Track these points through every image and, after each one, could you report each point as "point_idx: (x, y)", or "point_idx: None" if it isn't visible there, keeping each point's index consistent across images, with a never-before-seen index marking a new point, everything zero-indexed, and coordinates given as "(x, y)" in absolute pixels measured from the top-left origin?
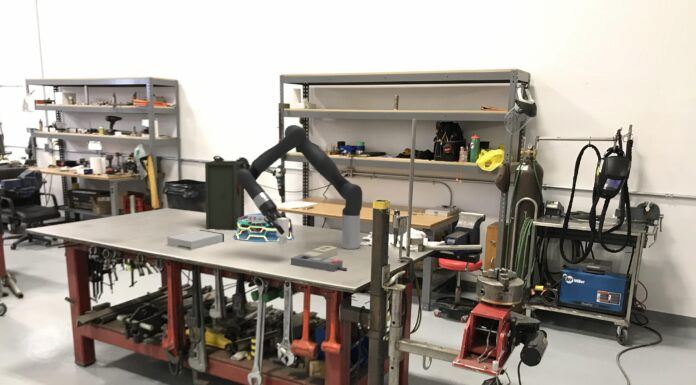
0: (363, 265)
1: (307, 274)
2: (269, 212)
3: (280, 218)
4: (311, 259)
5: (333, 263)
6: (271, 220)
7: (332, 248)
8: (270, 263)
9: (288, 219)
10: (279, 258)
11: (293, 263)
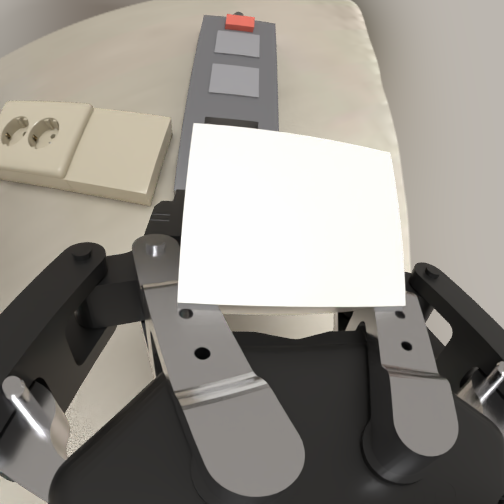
0: (152, 4)
1: (350, 100)
2: (495, 491)
3: (329, 264)
4: (257, 96)
5: (259, 26)
6: (485, 321)
7: (29, 102)
8: (304, 318)
9: (212, 137)
10: None
11: None
